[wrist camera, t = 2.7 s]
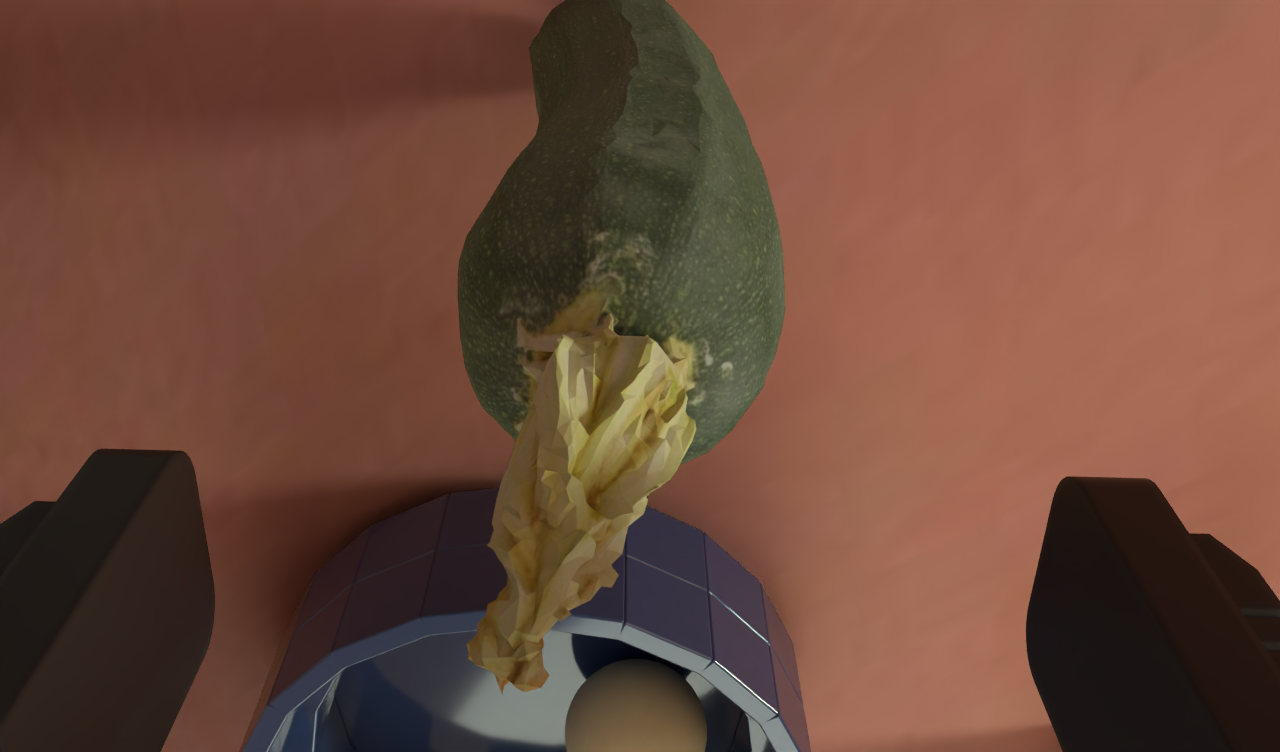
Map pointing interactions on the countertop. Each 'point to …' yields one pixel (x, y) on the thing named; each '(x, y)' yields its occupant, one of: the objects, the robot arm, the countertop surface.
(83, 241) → the countertop surface
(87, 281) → the countertop surface
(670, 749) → the ball
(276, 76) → the countertop surface
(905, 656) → the countertop surface
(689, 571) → the bowl
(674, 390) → the vegetable
